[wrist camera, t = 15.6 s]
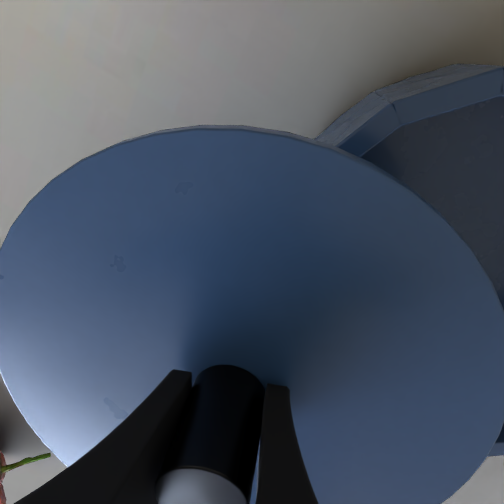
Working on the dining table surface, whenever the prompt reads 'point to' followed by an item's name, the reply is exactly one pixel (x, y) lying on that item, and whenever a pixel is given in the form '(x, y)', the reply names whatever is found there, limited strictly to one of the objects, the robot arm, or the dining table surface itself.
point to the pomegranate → (2, 468)
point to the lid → (254, 315)
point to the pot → (441, 152)
